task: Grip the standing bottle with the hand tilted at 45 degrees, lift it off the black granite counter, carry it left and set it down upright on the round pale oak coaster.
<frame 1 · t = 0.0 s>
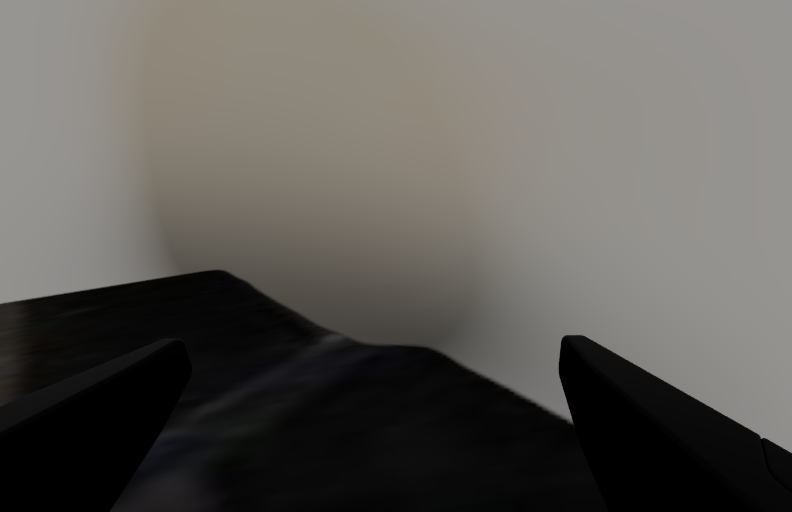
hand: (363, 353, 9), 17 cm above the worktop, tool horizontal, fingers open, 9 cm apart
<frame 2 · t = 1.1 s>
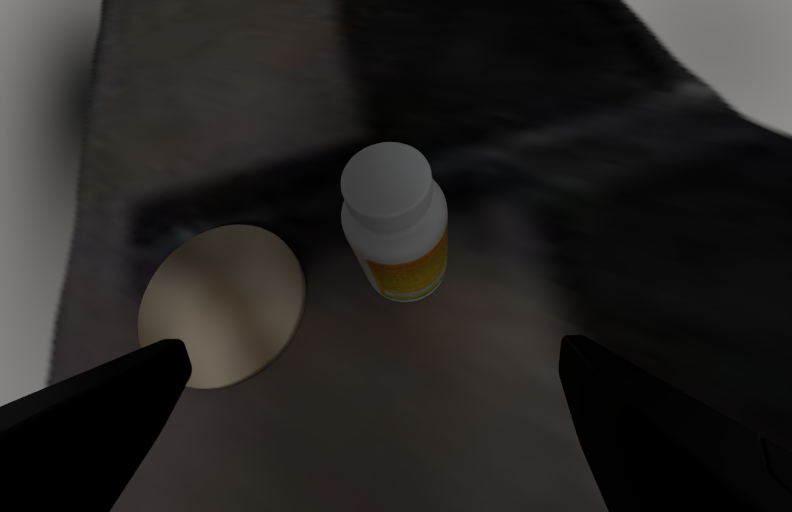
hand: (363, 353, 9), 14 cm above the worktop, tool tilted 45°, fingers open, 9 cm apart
supplement bottle: (406, 266, 25), on the worktop
oak coaster: (227, 302, 25), on the worktop
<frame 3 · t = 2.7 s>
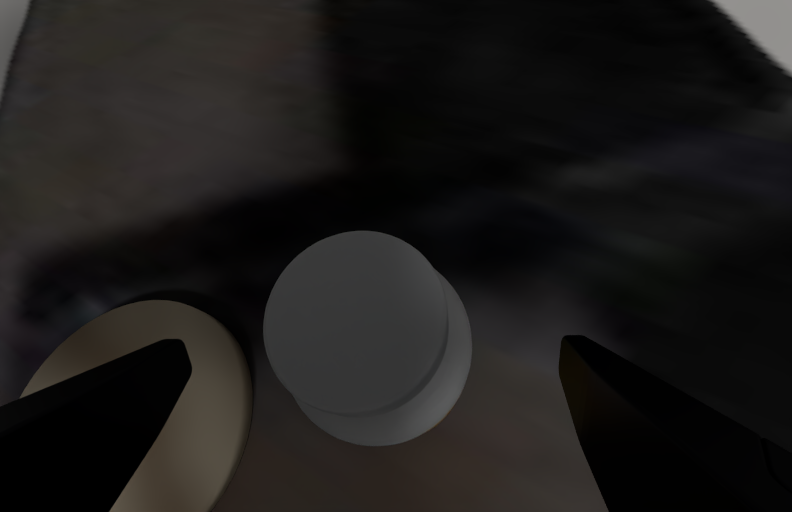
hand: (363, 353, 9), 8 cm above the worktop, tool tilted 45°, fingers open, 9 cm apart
supplement bottle: (401, 371, 17), on the worktop
oak coaster: (137, 421, 17), on the worktop
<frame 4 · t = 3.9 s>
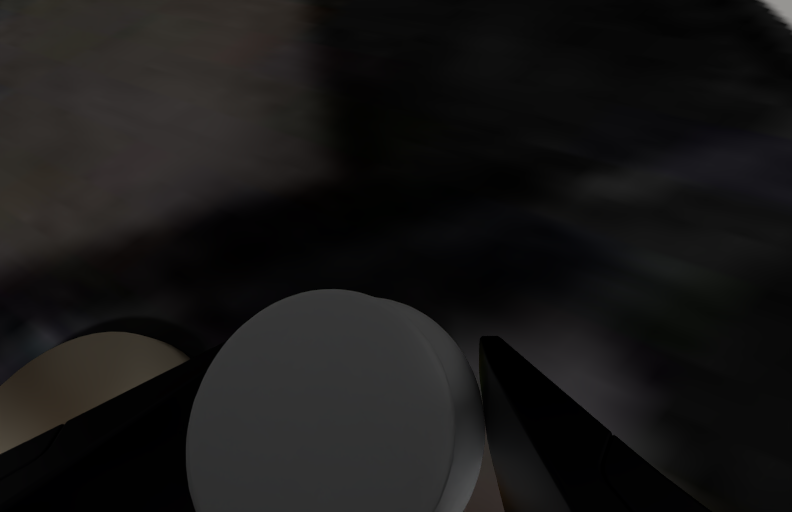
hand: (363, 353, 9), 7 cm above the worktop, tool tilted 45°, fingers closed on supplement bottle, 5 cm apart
supplement bottle: (396, 417, 14), on the worktop, touching gripper
oak coaster: (89, 475, 14), on the worktop
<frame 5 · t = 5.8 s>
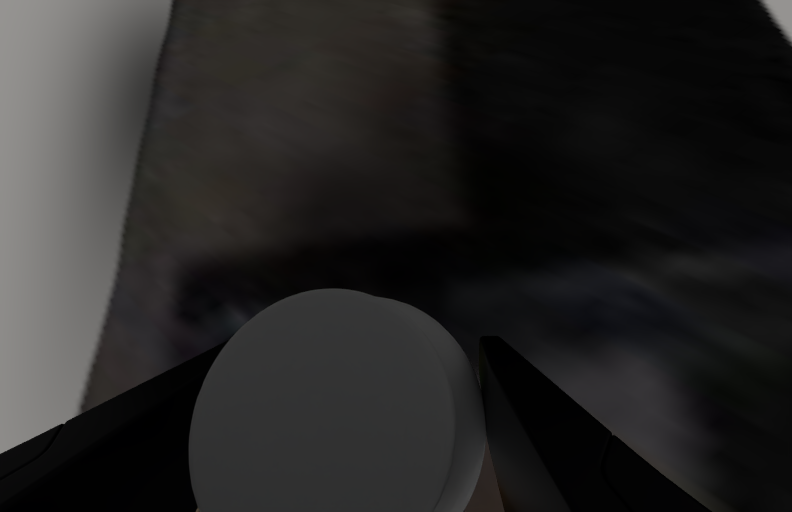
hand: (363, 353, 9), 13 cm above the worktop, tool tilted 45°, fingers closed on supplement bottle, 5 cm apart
supplement bottle: (398, 416, 14), point 6 cm above the worktop, touching gripper
when the fingers open (9 cm above the worktop, at t = 7.8 s): supplement bottle drops 1 cm, resting on oak coaster.
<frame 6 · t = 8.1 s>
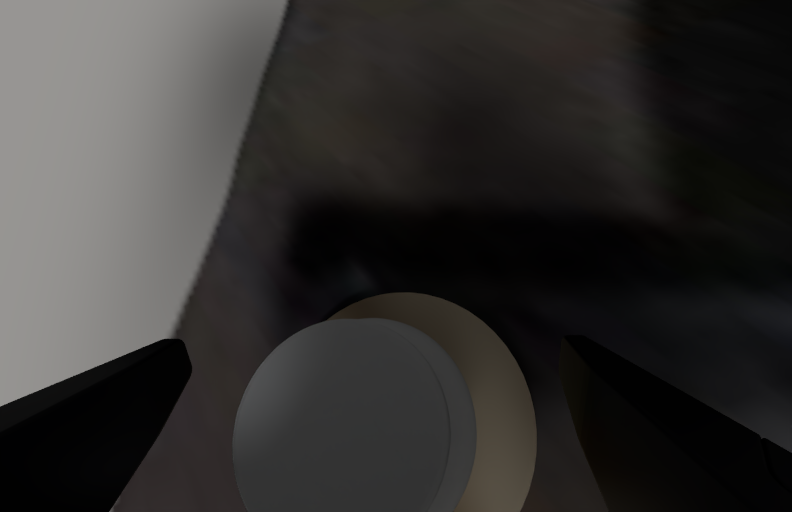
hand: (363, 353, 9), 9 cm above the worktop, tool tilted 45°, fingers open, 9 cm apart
supplement bottle: (398, 422, 15), point 1 cm above the worktop, touching oak coaster
oak coaster: (402, 417, 16), on the worktop
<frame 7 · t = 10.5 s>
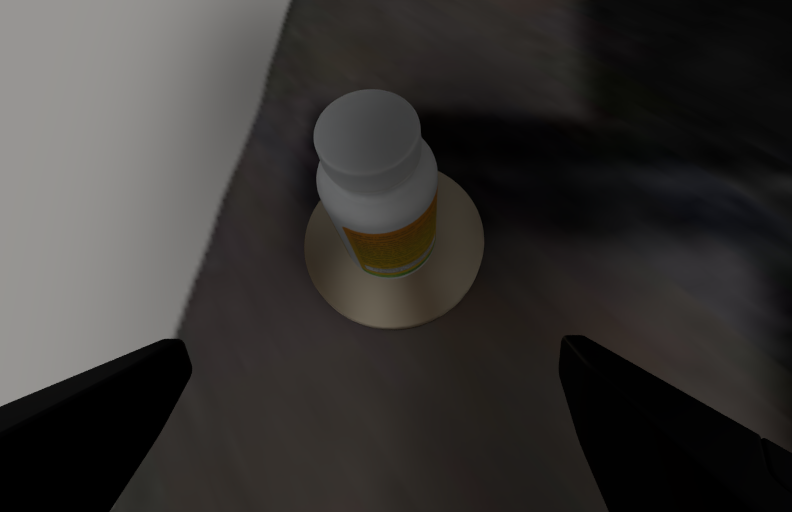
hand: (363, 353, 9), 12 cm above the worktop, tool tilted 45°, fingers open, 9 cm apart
supplement bottle: (391, 240, 23), point 1 cm above the worktop, touching oak coaster
oak coaster: (393, 243, 23), on the worktop
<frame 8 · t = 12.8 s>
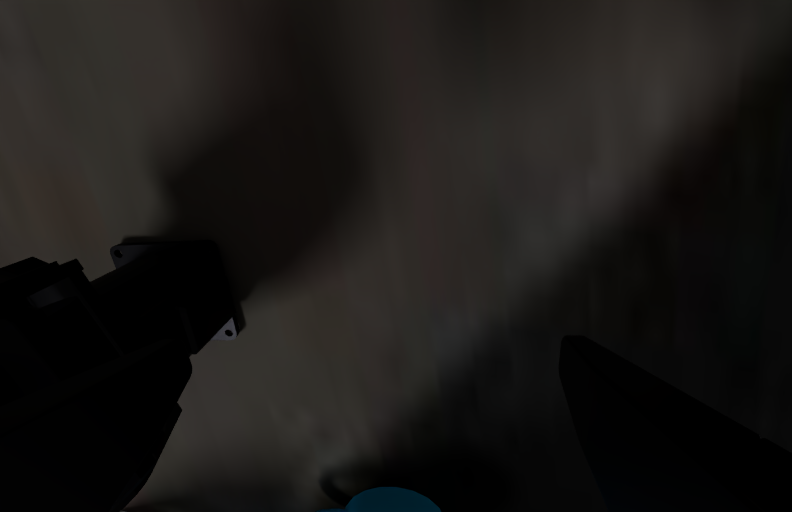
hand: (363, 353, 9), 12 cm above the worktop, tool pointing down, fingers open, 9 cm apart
mug: (372, 511, 29), on the worktop
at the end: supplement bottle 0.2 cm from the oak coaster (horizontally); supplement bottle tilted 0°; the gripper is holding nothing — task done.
